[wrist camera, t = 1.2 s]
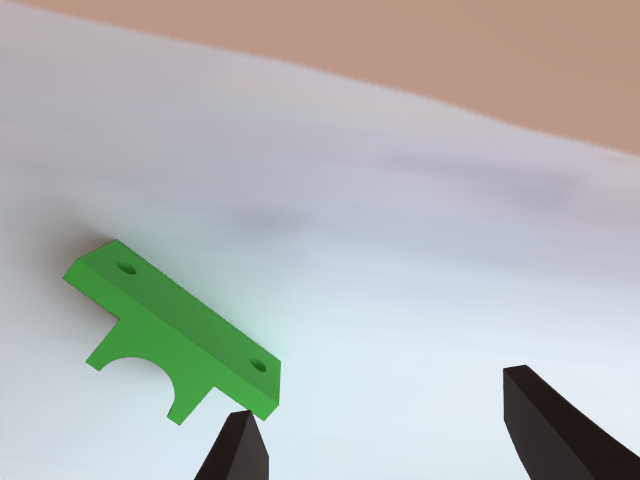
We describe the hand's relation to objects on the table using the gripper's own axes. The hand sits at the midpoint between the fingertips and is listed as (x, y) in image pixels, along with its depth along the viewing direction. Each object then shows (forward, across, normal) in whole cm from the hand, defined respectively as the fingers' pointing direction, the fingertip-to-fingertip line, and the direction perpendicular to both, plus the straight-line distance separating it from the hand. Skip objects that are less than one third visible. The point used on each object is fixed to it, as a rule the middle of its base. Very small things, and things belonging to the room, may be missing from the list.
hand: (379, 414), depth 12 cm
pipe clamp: (+11, +10, +3) cm, 15 cm away
